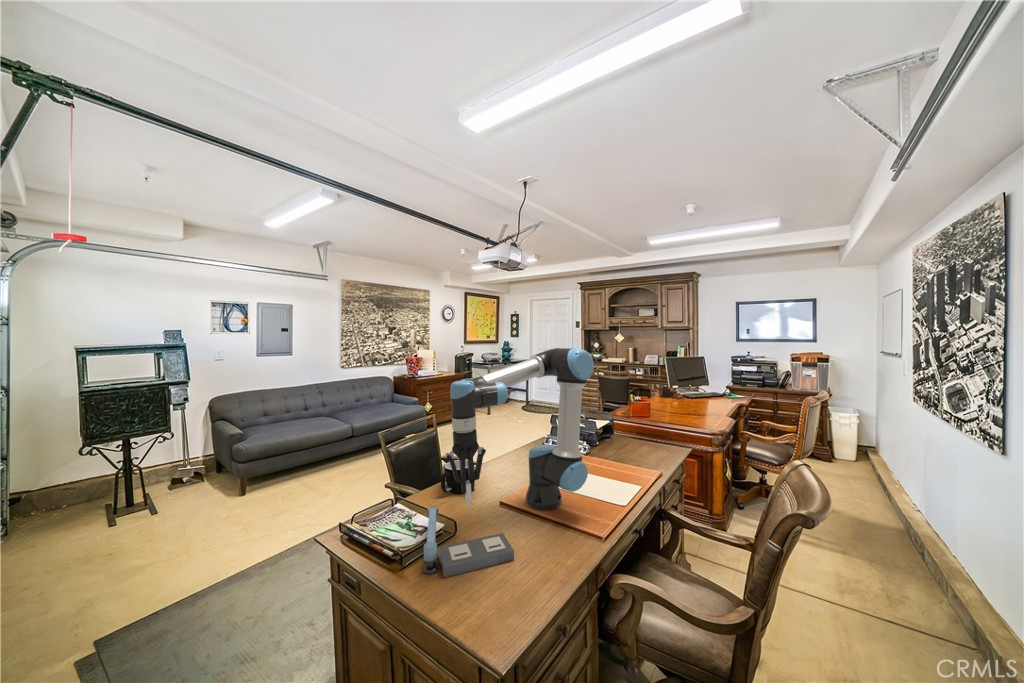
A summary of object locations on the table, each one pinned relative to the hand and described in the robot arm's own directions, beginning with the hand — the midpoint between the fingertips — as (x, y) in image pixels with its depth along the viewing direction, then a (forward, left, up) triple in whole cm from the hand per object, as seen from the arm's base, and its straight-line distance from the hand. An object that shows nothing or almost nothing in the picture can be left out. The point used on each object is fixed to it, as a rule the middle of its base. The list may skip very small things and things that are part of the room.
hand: (468, 502), depth 117 cm
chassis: (-1, +2, -17) cm, 18 cm away
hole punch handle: (+11, -9, -14) cm, 20 cm away
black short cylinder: (+13, +2, -17) cm, 22 cm away
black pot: (-6, -49, -18) cm, 53 cm away
